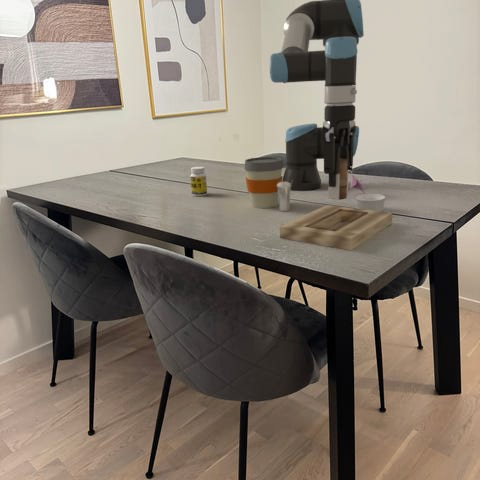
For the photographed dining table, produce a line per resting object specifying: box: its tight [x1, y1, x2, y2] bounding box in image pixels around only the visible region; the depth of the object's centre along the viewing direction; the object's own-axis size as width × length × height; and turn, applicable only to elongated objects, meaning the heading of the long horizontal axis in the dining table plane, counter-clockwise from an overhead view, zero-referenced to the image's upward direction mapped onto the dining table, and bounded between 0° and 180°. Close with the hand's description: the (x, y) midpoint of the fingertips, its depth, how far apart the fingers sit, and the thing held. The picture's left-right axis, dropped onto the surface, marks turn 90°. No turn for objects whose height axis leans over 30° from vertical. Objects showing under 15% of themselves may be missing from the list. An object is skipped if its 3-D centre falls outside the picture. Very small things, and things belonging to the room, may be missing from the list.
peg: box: [333, 158, 348, 201], centre depth 124 cm, size 4×4×10 cm
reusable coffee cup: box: [243, 156, 284, 209], centre depth 157 cm, size 13×13×15 cm
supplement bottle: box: [190, 166, 208, 197], centre depth 178 cm, size 6×6×10 cm
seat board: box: [279, 204, 393, 251], centre depth 128 cm, size 20×26×3 cm
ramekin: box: [355, 193, 386, 212], centre depth 146 cm, size 9×9×4 cm
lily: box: [348, 170, 366, 194], centre depth 165 cm, size 12×12×10 cm
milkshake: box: [277, 180, 293, 212], centre depth 150 cm, size 4×5×10 cm
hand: (338, 196), depth 125 cm, fingers closed on peg, 4 cm apart
